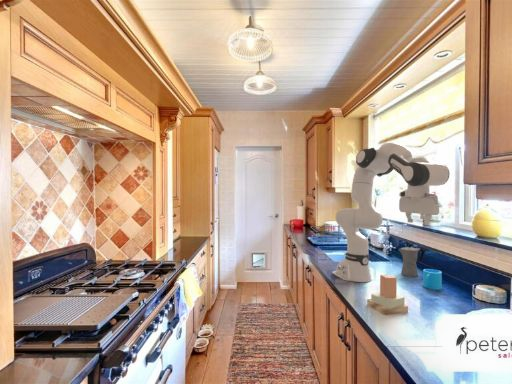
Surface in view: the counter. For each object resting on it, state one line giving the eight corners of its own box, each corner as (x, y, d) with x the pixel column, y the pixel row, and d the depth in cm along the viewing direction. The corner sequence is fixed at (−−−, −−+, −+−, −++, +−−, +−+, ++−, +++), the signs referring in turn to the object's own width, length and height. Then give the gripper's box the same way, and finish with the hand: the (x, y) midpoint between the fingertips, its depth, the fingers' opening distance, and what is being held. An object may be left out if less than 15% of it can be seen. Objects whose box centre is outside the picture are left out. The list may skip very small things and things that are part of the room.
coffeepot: (402, 276, 170) (402, 245, 170) (394, 272, 179) (394, 242, 179) (429, 276, 170) (429, 245, 170) (420, 272, 179) (420, 242, 179)
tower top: (371, 301, 125) (371, 294, 125) (385, 297, 129) (385, 290, 129) (390, 308, 117) (390, 301, 117) (404, 304, 121) (404, 297, 121)
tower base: (367, 306, 127) (367, 299, 127) (388, 303, 130) (388, 297, 130) (384, 316, 116) (384, 309, 116) (408, 313, 119) (408, 306, 119)
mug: (426, 283, 158) (426, 268, 158) (444, 287, 151) (444, 271, 151) (417, 288, 150) (417, 271, 150) (435, 292, 144) (435, 275, 144)
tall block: (380, 293, 125) (380, 274, 125) (389, 293, 125) (390, 274, 126) (386, 297, 120) (386, 277, 120) (396, 297, 121) (396, 277, 121)
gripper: (443, 193, 126) (443, 226, 126) (407, 193, 146) (407, 221, 146) (431, 193, 124) (430, 226, 124) (396, 193, 144) (396, 221, 144)
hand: (417, 223), depth 135 cm, fingers open, 8 cm apart
